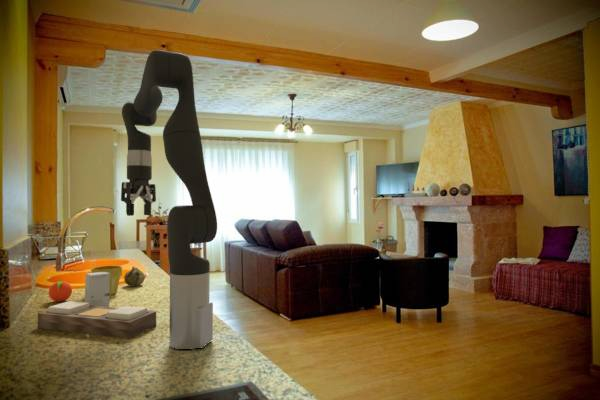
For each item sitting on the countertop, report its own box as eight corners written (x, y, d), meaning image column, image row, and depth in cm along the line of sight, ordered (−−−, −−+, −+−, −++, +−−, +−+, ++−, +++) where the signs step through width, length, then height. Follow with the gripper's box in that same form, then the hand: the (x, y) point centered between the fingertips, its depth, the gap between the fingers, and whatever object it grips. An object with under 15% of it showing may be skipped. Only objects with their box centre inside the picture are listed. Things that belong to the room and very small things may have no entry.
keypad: (156, 325, 115) (156, 311, 115) (129, 338, 105) (129, 322, 105) (70, 317, 123) (70, 303, 123) (37, 328, 113) (37, 313, 113)
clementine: (70, 303, 140) (70, 282, 140) (46, 305, 137) (46, 283, 137) (73, 298, 147) (73, 278, 147) (50, 300, 145) (50, 279, 145)
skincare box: (89, 316, 125) (89, 275, 125) (83, 313, 128) (84, 273, 128) (110, 312, 129) (110, 272, 129) (104, 309, 132) (105, 271, 132)
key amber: (117, 316, 116) (117, 309, 116) (98, 323, 110) (98, 316, 110) (96, 314, 118) (96, 307, 118) (77, 321, 111) (77, 314, 112)
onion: (149, 285, 172) (149, 265, 172) (132, 288, 165) (132, 268, 165) (137, 283, 176) (137, 264, 176) (120, 286, 169) (120, 266, 169)
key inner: (147, 314, 114) (147, 307, 114) (129, 321, 107) (129, 314, 107) (125, 312, 116) (125, 306, 116) (106, 319, 109) (107, 312, 109)
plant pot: (88, 297, 149) (88, 270, 149) (94, 291, 159) (94, 265, 159) (119, 296, 151) (119, 268, 151) (123, 290, 161) (123, 264, 161)
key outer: (89, 309, 119) (89, 302, 119) (69, 315, 112) (69, 308, 112) (69, 307, 121) (69, 301, 121) (48, 313, 114) (48, 306, 114)
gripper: (134, 162, 128) (134, 216, 127) (162, 166, 141) (162, 215, 141) (114, 163, 130) (113, 215, 129) (143, 167, 143) (143, 214, 143)
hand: (139, 215), depth 135 cm, fingers open, 8 cm apart
